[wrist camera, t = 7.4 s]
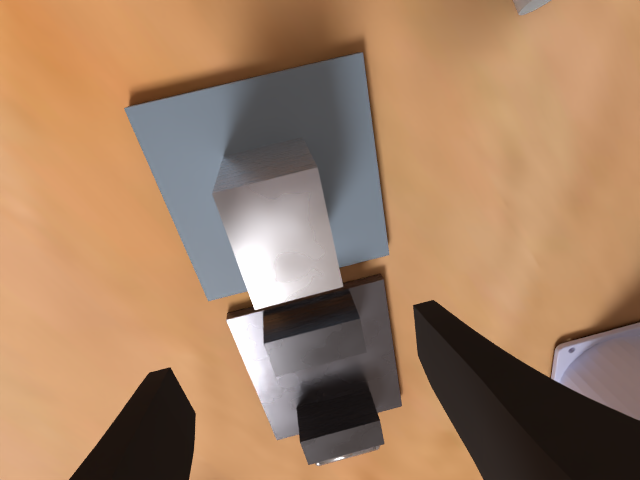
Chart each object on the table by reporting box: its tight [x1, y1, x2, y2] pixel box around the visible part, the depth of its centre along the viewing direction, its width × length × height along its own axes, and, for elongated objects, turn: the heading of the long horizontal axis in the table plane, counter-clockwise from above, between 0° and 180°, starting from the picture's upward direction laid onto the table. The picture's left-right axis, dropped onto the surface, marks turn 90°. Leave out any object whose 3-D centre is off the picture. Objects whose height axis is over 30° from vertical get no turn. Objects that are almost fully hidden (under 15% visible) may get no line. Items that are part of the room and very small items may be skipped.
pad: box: [124, 52, 389, 301], centre depth 18 cm, size 10×10×1 cm
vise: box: [227, 274, 402, 466], centre depth 23 cm, size 9×13×3 cm
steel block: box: [212, 137, 343, 310], centre depth 16 cm, size 4×5×5 cm
